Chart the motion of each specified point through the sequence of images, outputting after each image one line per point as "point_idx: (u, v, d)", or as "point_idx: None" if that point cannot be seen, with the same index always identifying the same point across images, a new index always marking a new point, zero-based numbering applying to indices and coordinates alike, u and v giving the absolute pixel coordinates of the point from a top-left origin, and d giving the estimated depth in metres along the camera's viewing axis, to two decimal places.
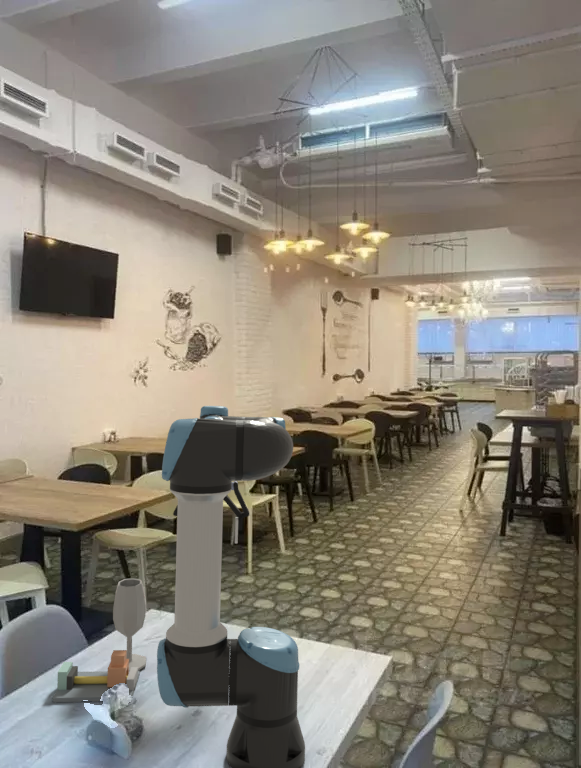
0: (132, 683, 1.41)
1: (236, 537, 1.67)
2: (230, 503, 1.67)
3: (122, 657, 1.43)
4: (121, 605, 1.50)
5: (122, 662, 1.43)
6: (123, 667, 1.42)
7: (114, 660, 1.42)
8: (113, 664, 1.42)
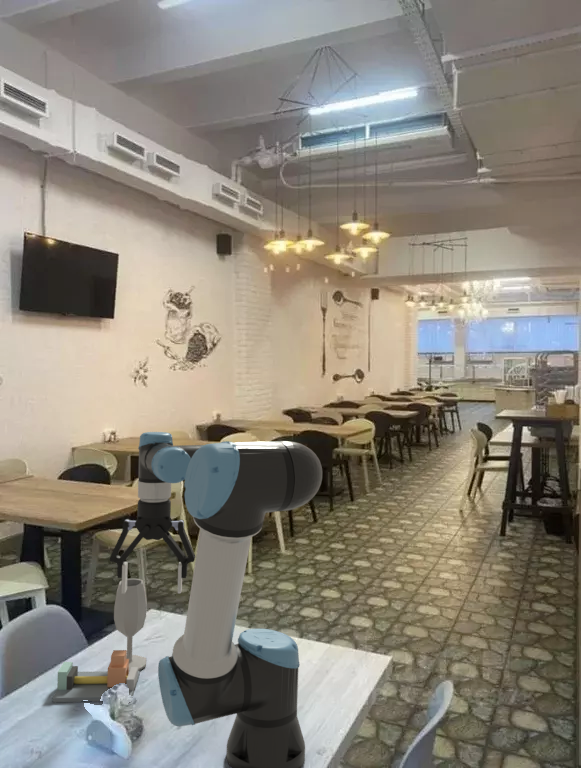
0: (132, 683, 1.41)
1: (179, 586, 1.44)
2: (173, 546, 1.44)
3: (122, 657, 1.43)
4: (122, 604, 1.51)
5: (122, 662, 1.43)
6: (123, 667, 1.42)
7: (114, 660, 1.42)
8: (113, 664, 1.42)
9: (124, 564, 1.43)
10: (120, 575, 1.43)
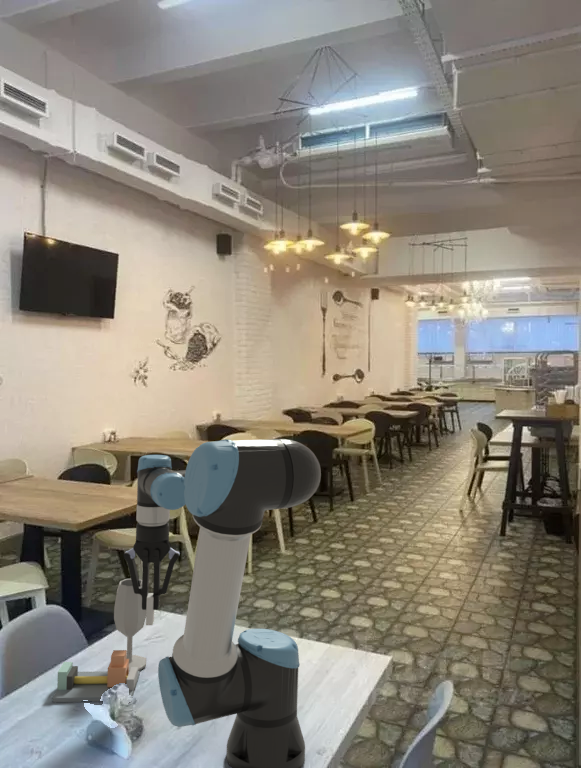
0: (132, 683, 1.41)
1: (151, 618, 1.43)
2: (157, 575, 1.43)
3: (122, 657, 1.43)
4: (122, 604, 1.51)
5: (122, 662, 1.43)
6: (123, 667, 1.42)
7: (114, 660, 1.42)
8: (113, 664, 1.42)
9: (148, 596, 1.44)
10: (144, 607, 1.44)
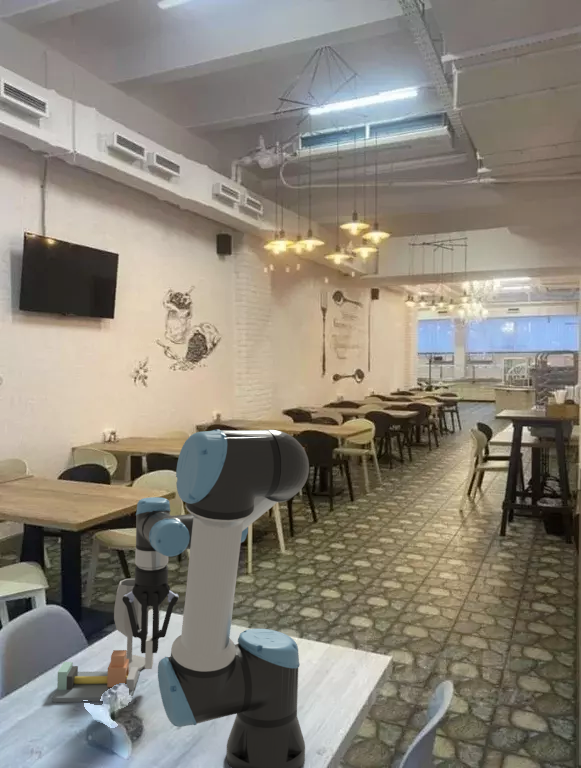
0: (132, 683, 1.41)
1: (150, 661, 1.43)
2: (156, 618, 1.43)
3: (122, 657, 1.43)
4: (122, 604, 1.51)
5: (122, 662, 1.43)
6: (123, 667, 1.42)
7: (114, 660, 1.42)
8: (113, 664, 1.42)
9: (147, 639, 1.44)
10: (143, 650, 1.44)
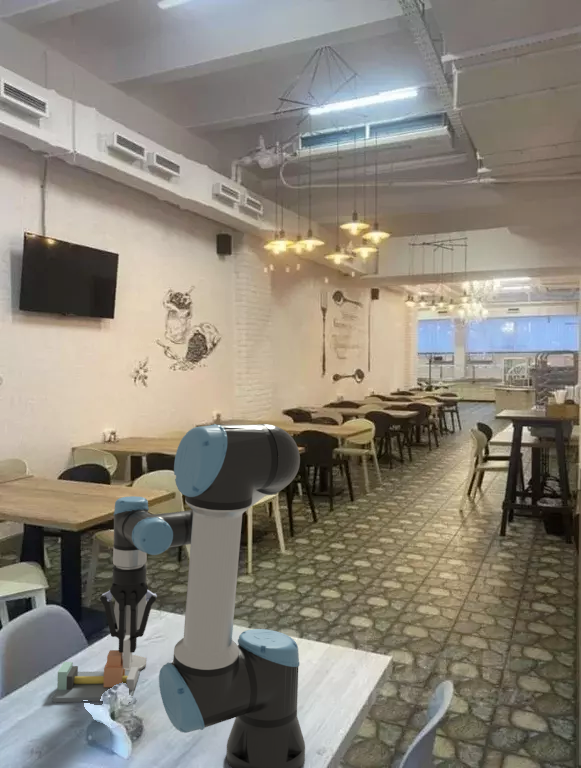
0: (132, 683, 1.41)
1: (127, 661, 1.43)
2: (133, 617, 1.43)
3: (118, 657, 1.42)
4: None
5: (118, 662, 1.42)
6: (119, 667, 1.42)
7: (111, 660, 1.42)
8: (109, 664, 1.42)
9: (125, 639, 1.43)
10: (121, 650, 1.43)
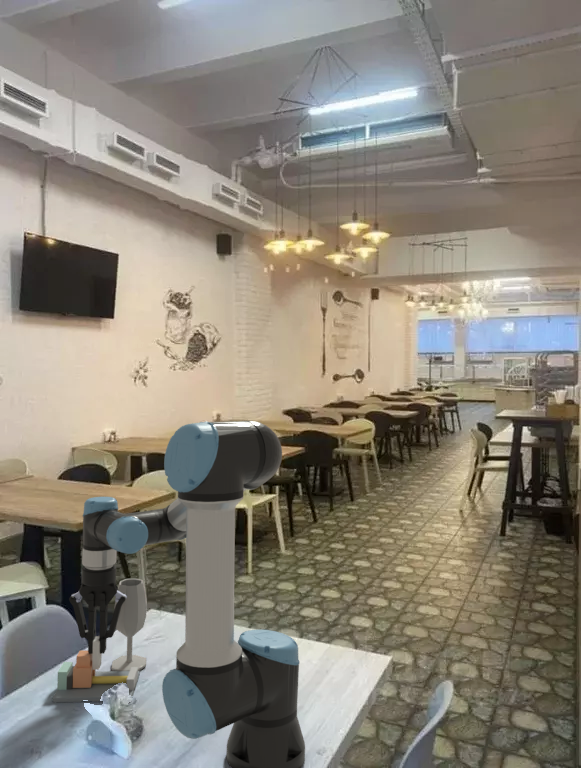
0: (132, 683, 1.41)
1: (97, 662, 1.42)
2: (103, 618, 1.42)
3: (88, 657, 1.42)
4: (122, 604, 1.51)
5: (88, 662, 1.42)
6: (89, 667, 1.41)
7: (80, 661, 1.42)
8: (78, 664, 1.42)
9: (95, 640, 1.43)
10: (91, 651, 1.43)
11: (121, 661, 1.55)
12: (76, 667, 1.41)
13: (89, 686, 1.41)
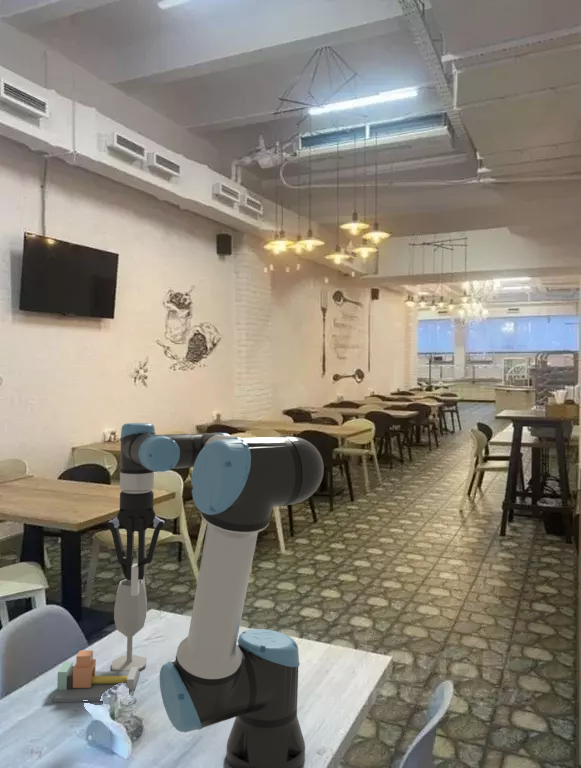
0: (132, 683, 1.41)
1: (136, 588, 1.41)
2: (141, 543, 1.41)
3: (88, 657, 1.42)
4: (122, 604, 1.51)
5: (88, 662, 1.42)
6: (89, 667, 1.41)
7: (80, 661, 1.42)
8: (78, 664, 1.42)
9: (133, 566, 1.41)
10: (129, 577, 1.41)
11: (121, 661, 1.55)
12: (76, 667, 1.41)
13: (89, 686, 1.41)
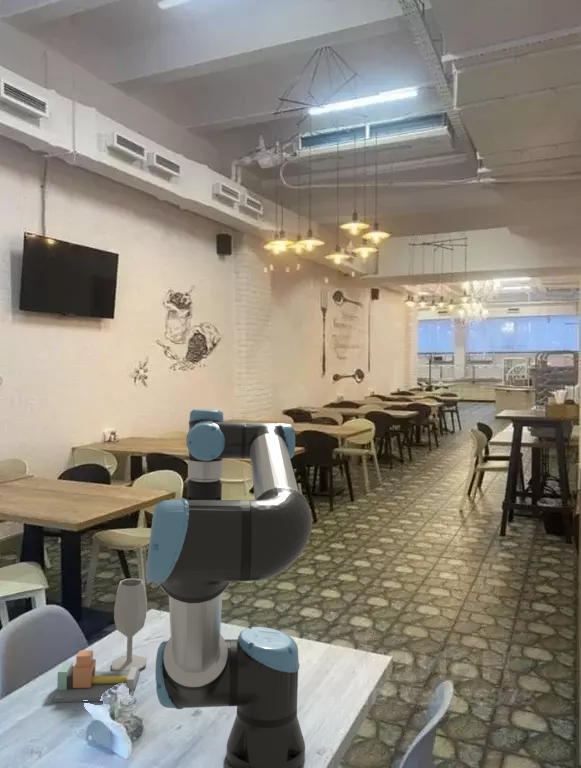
0: (132, 683, 1.41)
1: None
2: None
3: (88, 657, 1.42)
4: (122, 604, 1.51)
5: (88, 662, 1.42)
6: (89, 667, 1.41)
7: (80, 661, 1.42)
8: (78, 664, 1.42)
9: None
10: None
11: (121, 661, 1.55)
12: (76, 667, 1.41)
13: (89, 686, 1.41)
